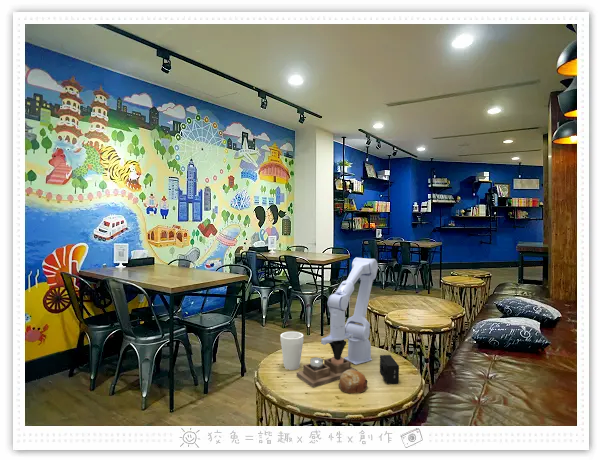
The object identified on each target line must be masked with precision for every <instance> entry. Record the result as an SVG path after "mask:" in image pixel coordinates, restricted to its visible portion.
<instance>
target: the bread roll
mask: <svg viewBox="0 0 600 460" xmlns="http://www.w3.org/2000/svg"><path fill="white" fill-rule="evenodd" d="M338 382H339V383H338V387H339V388H340V390H341V391H342V392H343V393H346V394H361V393H363V392H365V391H366V390H367V388H368V387H367V386H368V382H369V381H368V379H367V377H366V375H364V374H363V373H362V372H359V371H358V370H357V371H354V370H351V369H349V370H346V371H345V372H343V373H342V375H341V376H340V380H339V381H338Z"/></svg>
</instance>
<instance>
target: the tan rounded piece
mask: <svg viewBox="0 0 600 460" xmlns="http://www.w3.org/2000/svg"><path fill="white" fill-rule="evenodd" d="M330 358H331V362H332V363H333V364H335V365H338V364H342V363H343V360H344V359H343V358H344V357H342V356H341V358H340V360H336V359H335V358H334V356H332V357H330Z"/></svg>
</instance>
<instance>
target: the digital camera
mask: <svg viewBox="0 0 600 460" xmlns="http://www.w3.org/2000/svg"><path fill="white" fill-rule="evenodd" d="M379 373H380V375H381V376H382V379H384V381H385V383H386V384H387V385H399V384H400V380H399V379H400V365H399V364H398V363H397V362H396V360H395V359H394V358H393V356H392V355H391V354H382V355H381V354H380V355H379Z"/></svg>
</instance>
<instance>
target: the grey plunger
mask: <svg viewBox="0 0 600 460" xmlns="http://www.w3.org/2000/svg"><path fill="white" fill-rule="evenodd" d="M309 360H310V363H309V364H310V368H311V369H312V370H320V369H323V364H324V359H323V358H321V357H312V358H310V359H309Z"/></svg>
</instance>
